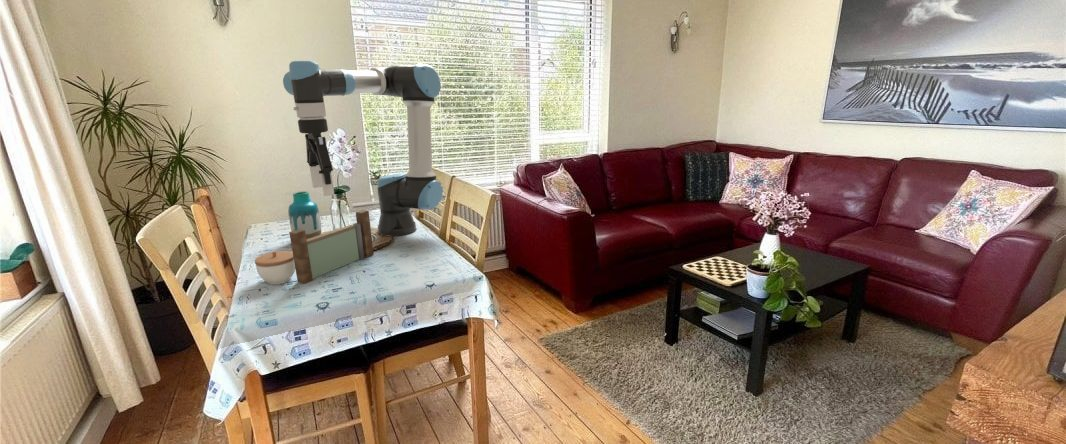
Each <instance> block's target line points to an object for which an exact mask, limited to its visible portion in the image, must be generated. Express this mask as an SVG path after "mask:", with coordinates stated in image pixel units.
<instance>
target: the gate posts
mask: <svg viewBox="0 0 1066 444" xmlns="http://www.w3.org/2000/svg"><path fill="white" fill-rule="evenodd" d="M355 219H356V223H360V225H361V233H362V241H363V249H364V258H369V257H371V256H374V253H375V252H374V247H373V246H374V245H373V236H372V229H371V220H370V212H369V210H367V209H366V210H365V209H361V210H357V211H355ZM288 234H289V238H290V239H289V240H290V245H291V252H293V258H294V263H295V274H296V281H297V283H300V284H303V285H305V284H307V283H309V282H313V281H314V278H312V271H311V265H310V259H309V253H308V246H307V240H306V234H305V230H299V229H298V230H294V231H291V230H290V231H288Z"/></svg>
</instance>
